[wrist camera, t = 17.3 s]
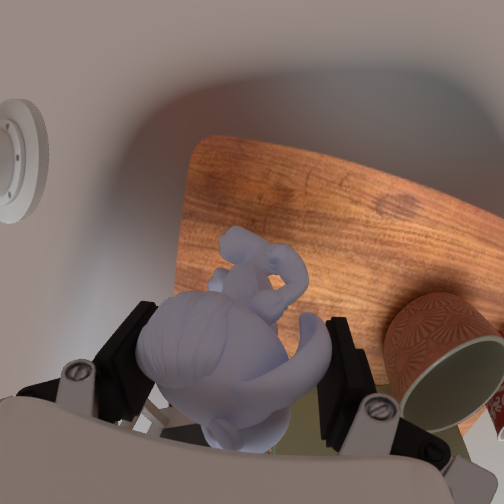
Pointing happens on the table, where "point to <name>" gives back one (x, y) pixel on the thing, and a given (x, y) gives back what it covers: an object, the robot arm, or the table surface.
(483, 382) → the planter
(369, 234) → the table surface
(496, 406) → the mug
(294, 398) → the toy figurine
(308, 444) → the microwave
